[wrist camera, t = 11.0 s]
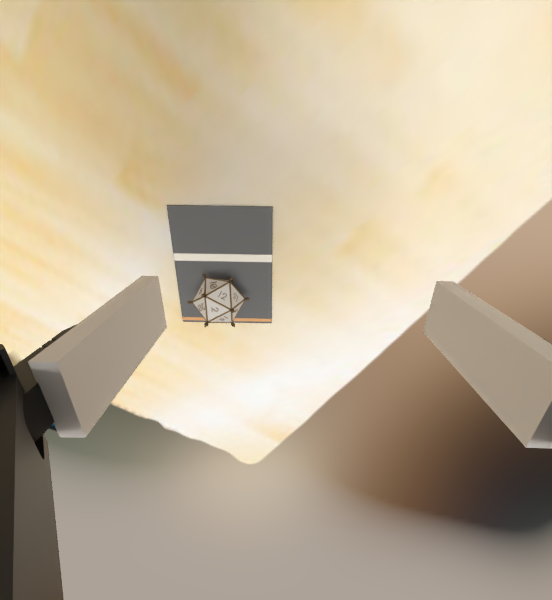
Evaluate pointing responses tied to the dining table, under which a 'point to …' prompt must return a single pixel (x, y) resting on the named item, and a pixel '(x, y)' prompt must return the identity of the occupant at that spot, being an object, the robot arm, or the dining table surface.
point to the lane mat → (224, 255)
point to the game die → (218, 300)
